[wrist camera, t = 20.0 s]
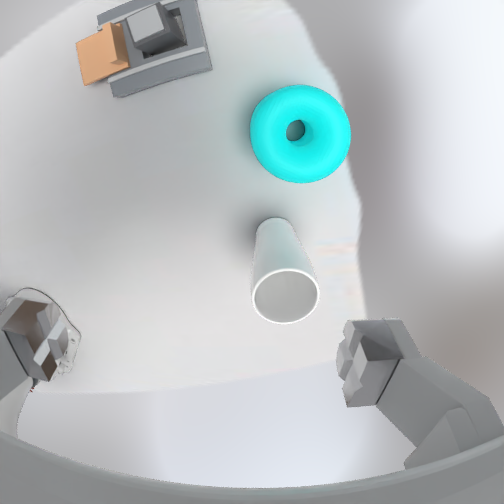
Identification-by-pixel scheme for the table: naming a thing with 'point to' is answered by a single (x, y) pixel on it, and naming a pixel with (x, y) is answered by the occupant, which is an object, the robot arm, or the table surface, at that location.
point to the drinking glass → (282, 275)
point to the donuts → (313, 141)
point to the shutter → (103, 53)
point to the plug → (154, 30)
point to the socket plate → (165, 64)
